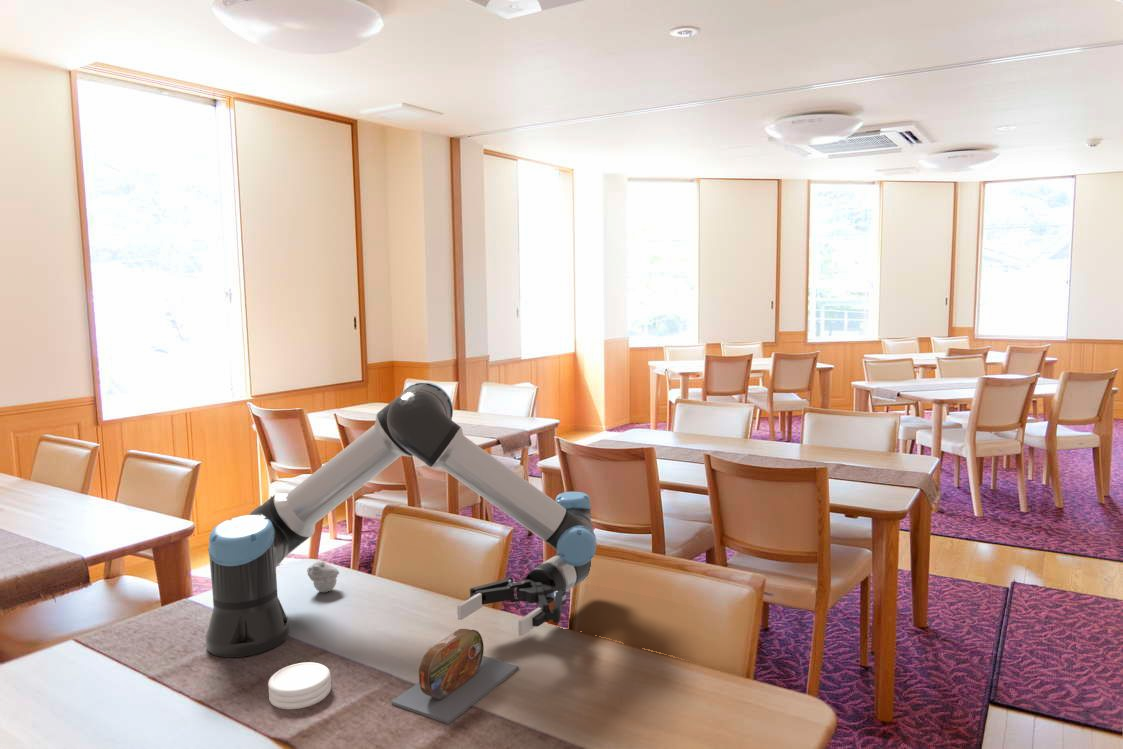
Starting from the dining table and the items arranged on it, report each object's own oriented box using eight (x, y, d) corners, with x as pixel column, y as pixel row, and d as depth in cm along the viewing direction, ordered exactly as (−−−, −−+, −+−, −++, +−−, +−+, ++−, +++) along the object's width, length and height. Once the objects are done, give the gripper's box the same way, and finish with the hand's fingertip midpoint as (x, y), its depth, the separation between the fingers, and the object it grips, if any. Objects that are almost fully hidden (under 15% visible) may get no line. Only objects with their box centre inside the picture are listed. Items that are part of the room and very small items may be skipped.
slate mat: (391, 704, 128) (391, 701, 127) (465, 653, 145) (465, 650, 145) (448, 724, 122) (448, 721, 121) (518, 668, 139) (518, 665, 139)
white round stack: (342, 684, 135) (341, 665, 134) (308, 715, 125) (307, 694, 125) (293, 676, 138) (292, 657, 137) (256, 706, 128) (255, 686, 128)
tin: (431, 708, 125) (429, 659, 124) (416, 703, 127) (414, 654, 126) (485, 667, 138) (484, 623, 137) (471, 663, 140) (470, 619, 139)
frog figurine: (311, 587, 177) (309, 557, 176) (342, 585, 178) (340, 556, 177) (305, 597, 171) (303, 567, 170) (337, 596, 172) (336, 566, 171)
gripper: (604, 610, 152) (547, 656, 134) (500, 586, 164) (436, 625, 146) (604, 573, 151) (547, 615, 133) (499, 552, 163) (434, 587, 145)
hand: (488, 620), depth 139 cm, fingers open, 13 cm apart
